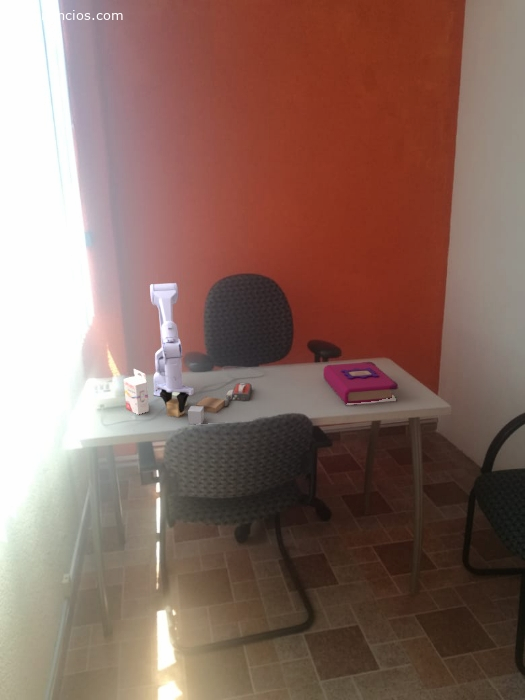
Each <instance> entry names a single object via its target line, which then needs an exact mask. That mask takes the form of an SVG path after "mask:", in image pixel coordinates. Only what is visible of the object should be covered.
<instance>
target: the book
mask: <svg viewBox="0 0 525 700" xmlns="http://www.w3.org/2000/svg"><path fill="white" fill-rule="evenodd" d="M323 379H324V380H325V382H326V383H327V384H328V385H329V386H330V388H332V390H333V391H334V392H335V393H336V394H337V396H338V397H339V398H340V400H341V401H342V402H343V401H344V402H343V403H344V405H346V404H347V403H361V402H371V401H379V400H382V399H386V398H388V399H390V398H392V394H393V393H392V391H393V390H397V389H399V388H398V387H399V386H398V383H397V382H396V381H394V380H393V379H392V378H391V377H389V376H388V375H387V374H386V373H385V372H384V371H382V369H380V368H379V367H378V366H377V365H376V364H375V362H372V361H363V362H354V363H352V362H351V363H341V364H340V363H338V364H337V363H336V364H327V365H325V367H324V368H323Z"/></svg>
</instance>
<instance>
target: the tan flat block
mask: <svg viewBox="0 0 525 700" xmlns="http://www.w3.org/2000/svg"><path fill="white" fill-rule="evenodd" d="M225 402H226V399H222V398H217V397H210V396H205V397H204V398H203V399H201V400H200V401H199V402H198V403H196V404H195V406H204V412H206V413H212V414H213V413H214V414H216V413H218V412H219V411H220V410H221V409H223V408H224V407H226V406H225Z"/></svg>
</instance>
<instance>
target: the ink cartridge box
mask: <svg viewBox="0 0 525 700" xmlns="http://www.w3.org/2000/svg"><path fill="white" fill-rule="evenodd" d="M133 374H134V376H131V377H127V378H126V377H125V378H124V379H123V384H124V385H123V387H124V394H125V395H124V398H125V408H126V410H128V411H131V412H132V413H134V414H135V413H136V415H137V414H138V416H140V415H142V413H143V414H145V412H146V413H147V412H150V406H149V394H148V382H147V376H146V373H144V372H142V371H140V370H138V369H135V368H133ZM139 414H140V415H139Z"/></svg>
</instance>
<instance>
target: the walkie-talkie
mask: <svg viewBox="0 0 525 700" xmlns="http://www.w3.org/2000/svg"><path fill="white" fill-rule="evenodd" d="M252 388H253V387H252V384H251V383H249V382H238V383H236V384H235V385H234V387H233V389H230V390H228V392H227V393H226V395H225V397H226V399H225V406H224V407H227V406H228V404H229V402H230V401H231V400H232V401H242V402H245V401H249V400H250V397H251V393H252V390H253V389H252Z"/></svg>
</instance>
